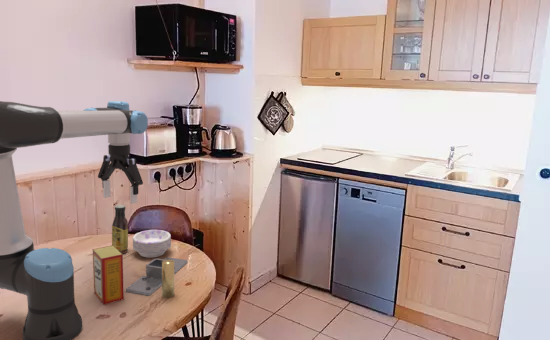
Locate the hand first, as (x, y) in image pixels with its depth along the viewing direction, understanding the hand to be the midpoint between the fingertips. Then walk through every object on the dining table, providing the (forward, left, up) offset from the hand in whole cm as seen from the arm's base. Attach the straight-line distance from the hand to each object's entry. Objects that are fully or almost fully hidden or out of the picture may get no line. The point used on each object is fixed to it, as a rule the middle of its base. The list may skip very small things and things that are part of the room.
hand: (120, 200), depth 164 cm
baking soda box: (-23, -10, -26) cm, 36 cm away
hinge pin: (-16, -28, -26) cm, 41 cm away
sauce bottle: (+11, +8, -26) cm, 30 cm away
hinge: (-4, -18, -26) cm, 32 cm away
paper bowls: (+14, -5, -26) cm, 30 cm away
